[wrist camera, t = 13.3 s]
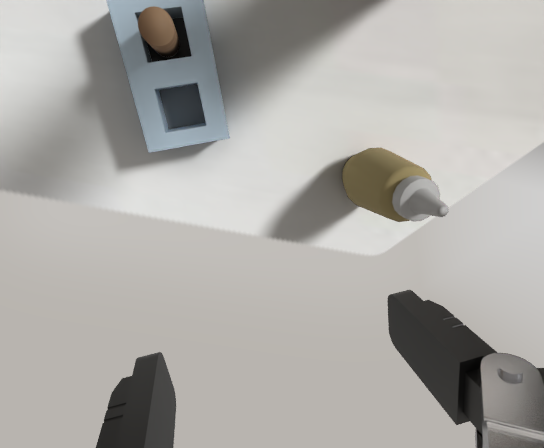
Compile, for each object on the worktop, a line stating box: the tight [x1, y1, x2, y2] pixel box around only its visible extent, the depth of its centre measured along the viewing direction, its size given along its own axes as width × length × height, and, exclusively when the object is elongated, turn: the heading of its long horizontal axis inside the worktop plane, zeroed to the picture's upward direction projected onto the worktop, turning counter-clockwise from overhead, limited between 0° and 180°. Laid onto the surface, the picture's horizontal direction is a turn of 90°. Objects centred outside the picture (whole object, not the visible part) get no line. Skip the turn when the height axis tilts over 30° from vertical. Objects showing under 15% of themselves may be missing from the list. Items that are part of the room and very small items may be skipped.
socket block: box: [107, 0, 230, 153], centre depth 39 cm, size 9×15×5 cm, turn 9°
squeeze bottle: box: [342, 148, 448, 222], centre depth 42 cm, size 8×8×18 cm
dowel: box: [138, 6, 180, 57], centre depth 35 cm, size 3×3×10 cm
